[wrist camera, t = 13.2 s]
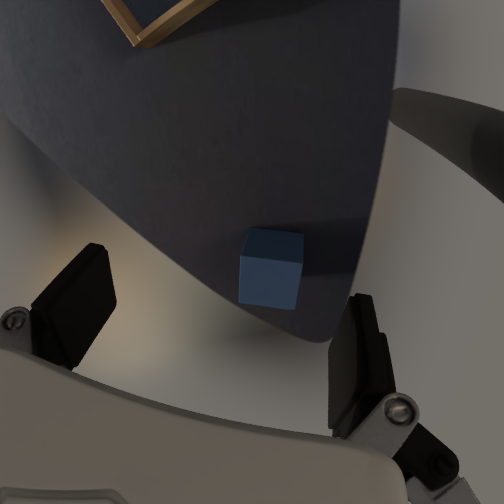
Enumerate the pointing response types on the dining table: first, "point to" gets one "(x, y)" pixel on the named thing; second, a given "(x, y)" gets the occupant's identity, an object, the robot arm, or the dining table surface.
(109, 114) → the dining table surface
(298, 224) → the dining table surface
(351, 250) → the dining table surface
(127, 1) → the tray
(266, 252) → the blue block
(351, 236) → the dining table surface
